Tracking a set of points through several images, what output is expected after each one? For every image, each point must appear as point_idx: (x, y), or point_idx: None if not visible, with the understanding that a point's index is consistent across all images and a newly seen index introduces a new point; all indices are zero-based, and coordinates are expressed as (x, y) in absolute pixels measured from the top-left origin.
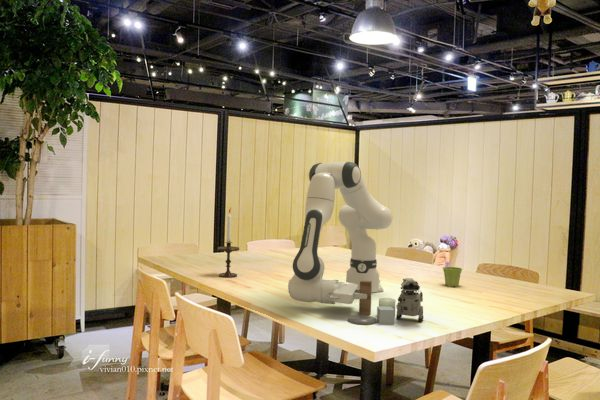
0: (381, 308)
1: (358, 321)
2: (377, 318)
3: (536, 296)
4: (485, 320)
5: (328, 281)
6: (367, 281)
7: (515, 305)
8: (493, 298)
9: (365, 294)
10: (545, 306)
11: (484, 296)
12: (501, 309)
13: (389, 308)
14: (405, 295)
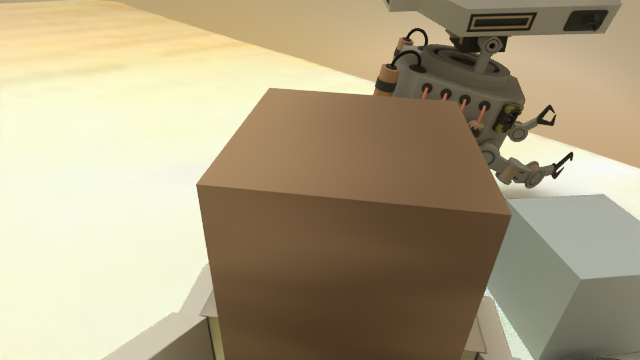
0: (635, 256)
1: None
2: (564, 347)
3: (90, 18)
4: (333, 77)
5: None
6: (388, 121)
7: (167, 38)
8: (78, 43)
9: (493, 314)
10: (183, 24)
11: (45, 46)
12: (206, 51)
13: (580, 212)
14: (506, 76)
